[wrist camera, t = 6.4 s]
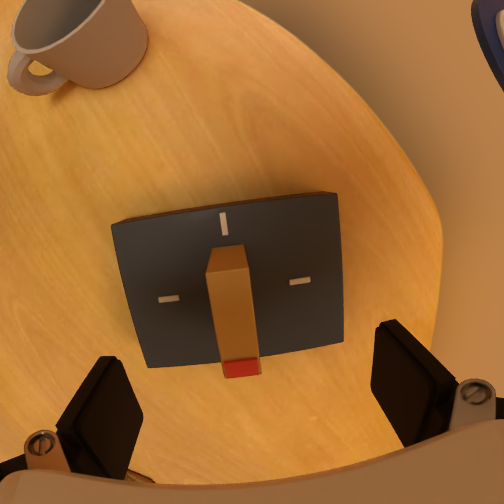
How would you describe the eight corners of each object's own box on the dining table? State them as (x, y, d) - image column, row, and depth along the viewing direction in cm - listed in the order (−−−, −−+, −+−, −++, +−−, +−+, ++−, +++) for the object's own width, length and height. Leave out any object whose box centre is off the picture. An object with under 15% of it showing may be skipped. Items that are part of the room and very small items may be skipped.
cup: (166, 50, 18) (135, -11, 10) (67, 132, 19) (-3, 114, 10) (125, 3, 17) (89, -54, 8) (37, 78, 18) (-25, 50, 9)
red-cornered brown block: (211, 247, 19) (204, 274, 13) (243, 243, 19) (249, 268, 13) (225, 332, 20) (224, 382, 15) (254, 328, 20) (262, 377, 15)
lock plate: (323, 191, 22) (338, 192, 19) (332, 325, 24) (344, 343, 21) (124, 219, 21) (109, 225, 18) (155, 349, 24) (146, 369, 21)
